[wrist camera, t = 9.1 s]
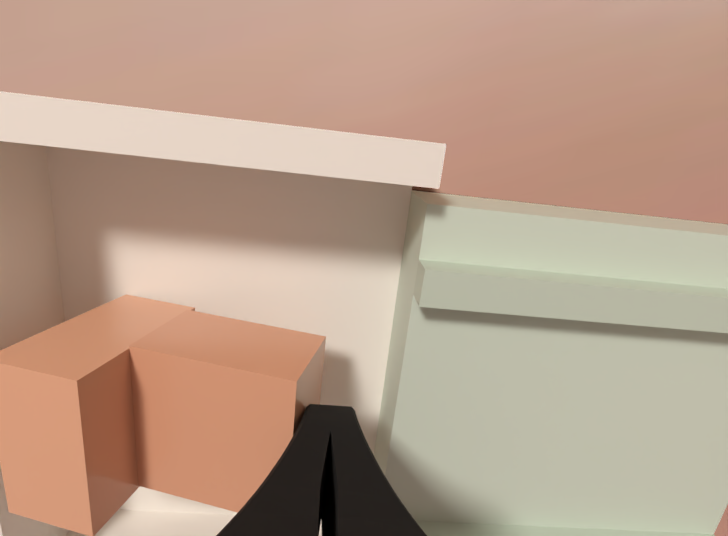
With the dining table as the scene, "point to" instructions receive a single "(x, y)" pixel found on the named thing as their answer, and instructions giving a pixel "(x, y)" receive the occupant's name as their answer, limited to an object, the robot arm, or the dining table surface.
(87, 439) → the tile
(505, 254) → the two-ridged green plate
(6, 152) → the box
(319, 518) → the robot arm
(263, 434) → the tile
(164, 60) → the dining table surface
